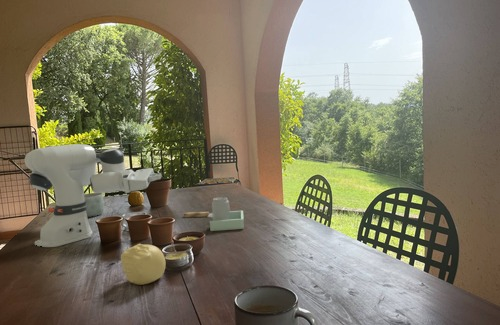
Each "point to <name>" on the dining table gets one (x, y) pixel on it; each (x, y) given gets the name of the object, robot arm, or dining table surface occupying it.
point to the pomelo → (143, 264)
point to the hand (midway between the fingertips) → (161, 176)
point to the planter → (94, 204)
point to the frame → (229, 222)
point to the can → (220, 209)
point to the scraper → (198, 214)
